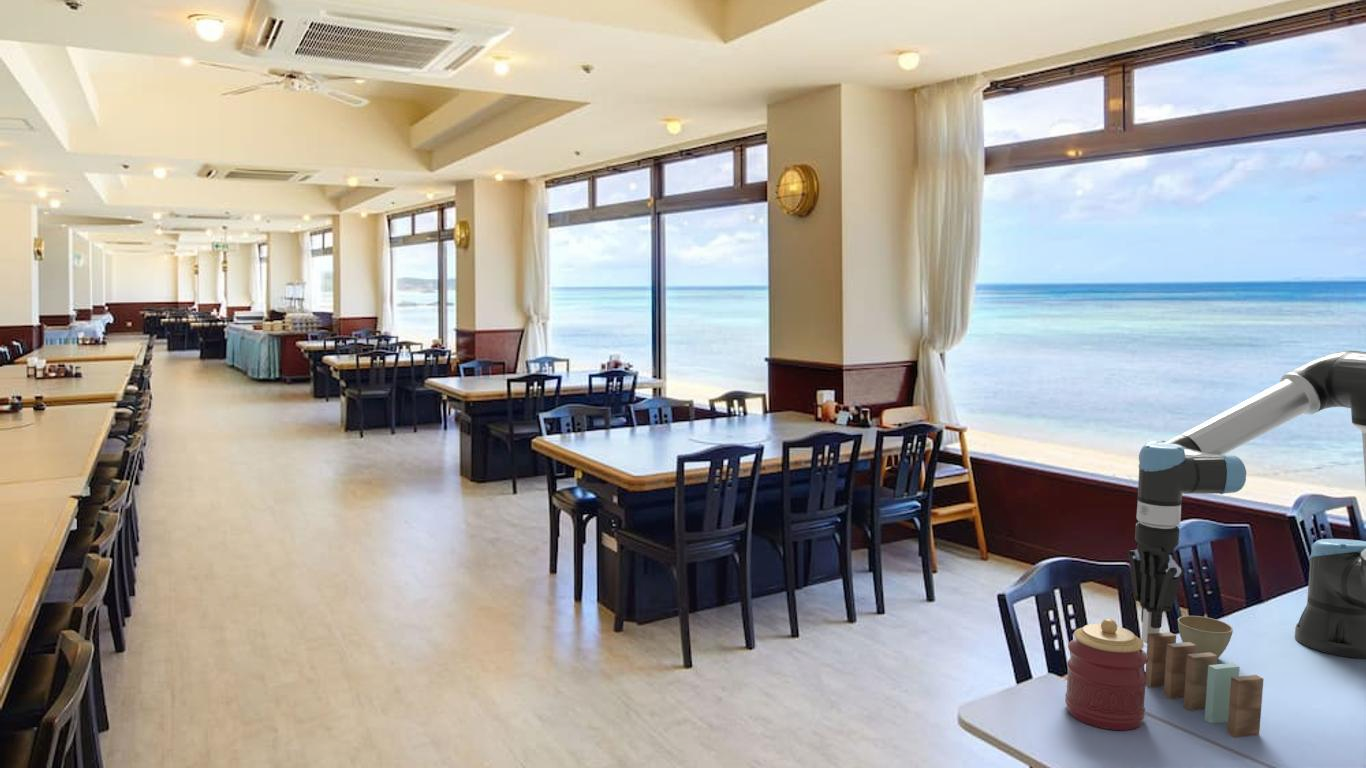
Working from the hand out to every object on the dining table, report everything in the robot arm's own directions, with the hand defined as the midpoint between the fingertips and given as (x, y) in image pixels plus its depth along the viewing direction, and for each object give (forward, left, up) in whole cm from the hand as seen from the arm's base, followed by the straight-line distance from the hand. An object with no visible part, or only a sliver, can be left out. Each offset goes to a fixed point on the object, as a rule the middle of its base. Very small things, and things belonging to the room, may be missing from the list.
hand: (1150, 641), depth 177 cm
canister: (+19, +12, -8) cm, 24 cm away
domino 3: (0, +13, -8) cm, 15 cm away
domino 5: (0, +23, -8) cm, 24 cm away
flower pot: (-19, -7, -8) cm, 22 cm away
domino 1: (0, +3, -8) cm, 8 cm away
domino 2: (0, +8, -8) cm, 11 cm away
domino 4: (0, +18, -8) cm, 19 cm away
